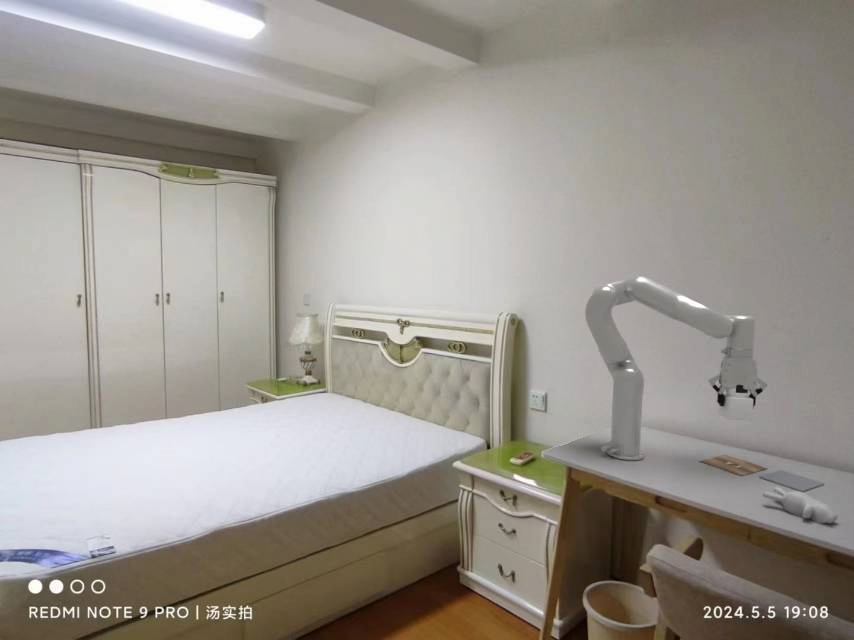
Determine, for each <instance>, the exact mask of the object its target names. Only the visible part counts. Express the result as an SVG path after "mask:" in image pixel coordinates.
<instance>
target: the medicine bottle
mask: <svg viewBox="0 0 854 640" xmlns="http://www.w3.org/2000/svg"><path fill="white" fill-rule="evenodd" d="M723 394H724V406H720V405H719V404H718V406H719V408H718V409H719V410H718V415H721V416H723V418H726V419H727V420H729V421H730V420H731V421H752V420H753V410H754V407H753V399H752V398H750V397H749V395H748V394H749V390H745V389H743V385H736V388H734V389H731V388H726V390H725V393H724V392H723ZM747 395H748V396H747Z"/></svg>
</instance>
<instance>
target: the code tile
mask: <svg viewBox="0 0 854 640" xmlns="http://www.w3.org/2000/svg"><path fill="white" fill-rule="evenodd" d="M699 463H702V464H704V463H705V464H704V465H707V464H708V466H710V465H711V467H713V466H714V468H716V467H717V469H719V468H720V469H719V470H722V469H723V470H722V471H725V472H727V471H728V473H730V472H731V474H733V473H734V475H736V474H737V476H739V475H740V477H744V476H748V475H751V474H755V473H758V472H760V470H762V471H765V470H768V469H767V467H764V466H761V465H759V464H755V463H753V462H749V461H747V460H742V459H739V458H736V457H733V456H730V455H726V454H723V455H719V456H715V457H714V456H713V457H711V458H707V459H702V460H699ZM764 469H765V470H764ZM757 471H758V472H757ZM747 474H748V475H747Z"/></svg>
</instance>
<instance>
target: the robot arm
mask: <svg viewBox="0 0 854 640" xmlns="http://www.w3.org/2000/svg"><path fill="white" fill-rule="evenodd" d="M631 302H632V303H633V302H638V303H639V304H641V305H643V306H645V307H647V308H649V309H651V310H653V311H656V312H658V313H659V314H661V315H663V316H665V317H668V318H669V319H672V320H675V321H678V322H680V323H682V324H686V325H687V326H690V327H692V328H694V329H696V330H698V331H700V332H702V333H703V334H705V335H706V336H709V337H711V338H713V339H719V340H721V339H722V340H723V339H726V342H725V343H726V344H725V348H721V349H720V353H721V354H723V355H725V356H723V357H722V360H721V364H720V369H719V374H717V375H715V376H713V377H712V378H709V379H708V383H709V384H710V386H711V387H712V388H713V389H714V391H715V392H716V393H717V398H716V402H717V404H718V406H719V405H720V406H724V394H723V393H724V392H726V388H731V389H734V388H736V385H743V389H745V390H748V393H749V395H748V397H750V398H752V399H753V408H754V407H755V406H756V402H757V401H756V399H757V397H758V396H759V395H760V394H762V393H763V391H764V390H765V389H766V388H767V387H768V383H766V382H764V381H763V380H762V379H760V378H759V377H758V364H757V359H756V358H754V347H755V346H754V345H755V334H756V333H755V330H756V318H755V317H754V316H751V315H745V314H744V315H741V314H735V315H727V314H722V313H720V312H718V311H716V310H713V309H712V308H709V307H708V306H705V305H703V304H701V303H699V302H696V301H694V300H693V299H691V298H689V297H688V296H686V295H684V294H682V293H680V292H678V291H675V290H673V289H672V288H669V287H668V286H665V285H663V284H661V283H659V282H658V281H655V280H653V279H652V278H649V277H647V276H645V275H636V276H635V275H634V276H631V277H628V278H625V279H622V280H617V281H612V282H608V283H606V284H605V283H604V284H600V285H598V286H597V287H595V288H594V289H593V292H592V293H591V295H590V297H589V298H588V300H587V302H586V305H585V312H584V313H585V315H584V316H585V321H586V324H587V327H588V328H589V331H590V333H591V335H592V337H593V340H594V341H595V344H596V346H597V348H598V352H599V354H600V356H601V357H602V360H603V362H604V364H605V366H606V367H607V370H608V371H609V373H610V375H611V378H612V382H613V387H612V388H613V389H612V403H611V404H612V405H611V431H610V433H611V435H610V436H611V437H610V440H609V441H608V444H607V445H603V446H601V447H600V448H601V451H602V452H603V453H606V452H607V453H608V454H609V455H608V454H607V453H606V454H607V455H608V456H610V455H611V456H610V457H612V456H613V457H612V458H614V459H615V458H616V459H618V460H624V461H639V460H643V459H644V458H645V455H646V453H645V452H644V451H643V450H641V436H642V418H643V417H642V413H643V412H642V411H643V408H642V407H643V398H644V397H643V396H644V389H645V378H644V374H643V372H642V371H641V369H640V368H639V367H638V364H637V363H636V361H635V359H634V358H633V355H632V353H631V351H630V350H629V346H628V344H627V342H626V341H625V339H624V338H623V336H622V334H621V332H620V331H619V329H618V327H617V324H616V322H615V321H614V319H613V315H612V312H613V311H612V310H613V309H614V307H615V306H620V305H623V304H627V303H631ZM716 382H718V383H719V387H718V385H717V384H716ZM758 384H759V387H758ZM757 387H758V388H757Z"/></svg>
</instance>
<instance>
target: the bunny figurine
mask: <svg viewBox="0 0 854 640" xmlns="http://www.w3.org/2000/svg"><path fill="white" fill-rule="evenodd" d="M773 491H774V492H775V493H774V492H772V491H767V490H765V491H763V495H762V496H763V498H766V499H768V500H769V499H770V500H775V501H780V502H781V503H782V505H783V508H784V510H785V511H787V512H788V513H790V514H793V515H794V516H795V515H796V516H800V517H801V518H804V519H812V521H813V522H815V523H817V524H826V523H828V524H832V523H833V522H836V521H837V520H838V517H839V516H838V515H839V514H838V513H836V512H835V511H834V509H833V508H832V506H830V505H829V504H827V503H824V502H822V501H821V500H818V499H815V498H813V497H812V496H811V495H810V494H808V493H806V492H800V491H797V490H793V491H785V489H783V488H781V487H779V486H774V487H773Z"/></svg>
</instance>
